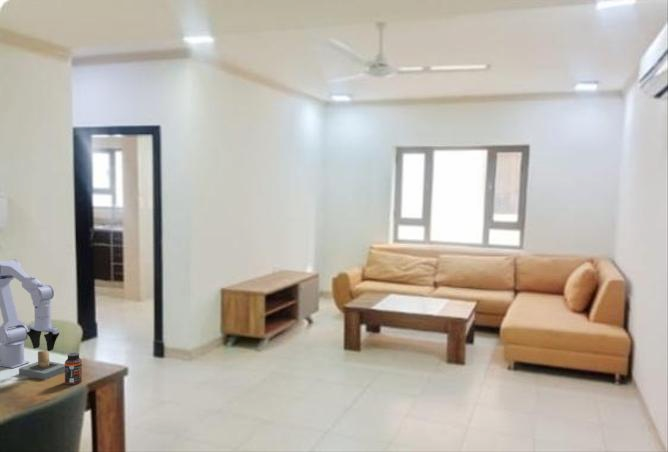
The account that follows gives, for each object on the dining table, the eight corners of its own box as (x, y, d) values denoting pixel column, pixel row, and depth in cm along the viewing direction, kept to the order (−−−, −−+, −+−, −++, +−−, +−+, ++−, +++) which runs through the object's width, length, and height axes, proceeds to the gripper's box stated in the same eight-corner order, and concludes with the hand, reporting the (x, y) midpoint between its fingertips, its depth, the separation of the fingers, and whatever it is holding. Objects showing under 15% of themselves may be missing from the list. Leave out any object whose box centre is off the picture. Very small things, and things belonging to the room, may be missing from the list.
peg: (35, 371, 215) (35, 352, 214) (44, 368, 218) (44, 349, 218) (43, 373, 213) (42, 353, 213) (51, 370, 217) (51, 351, 216)
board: (19, 374, 213) (18, 367, 213) (42, 365, 224) (42, 359, 223) (45, 379, 208) (44, 372, 208) (68, 370, 219) (67, 364, 218)
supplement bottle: (75, 386, 203) (74, 357, 202) (61, 384, 204) (61, 355, 203) (85, 380, 209) (85, 352, 208) (72, 379, 210) (71, 351, 209)
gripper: (64, 315, 215) (65, 348, 216) (38, 311, 220) (38, 343, 221) (49, 319, 209) (50, 353, 210) (22, 315, 214) (23, 348, 215)
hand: (43, 349), depth 215 cm, fingers open, 7 cm apart
